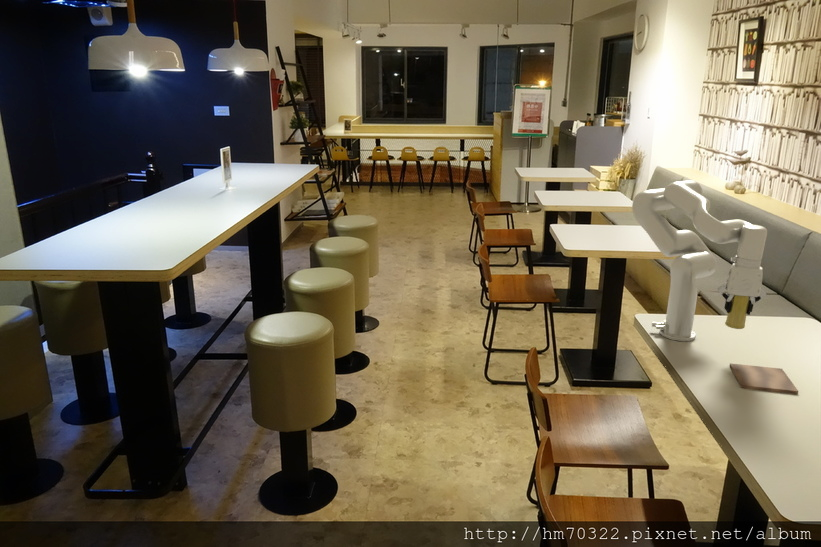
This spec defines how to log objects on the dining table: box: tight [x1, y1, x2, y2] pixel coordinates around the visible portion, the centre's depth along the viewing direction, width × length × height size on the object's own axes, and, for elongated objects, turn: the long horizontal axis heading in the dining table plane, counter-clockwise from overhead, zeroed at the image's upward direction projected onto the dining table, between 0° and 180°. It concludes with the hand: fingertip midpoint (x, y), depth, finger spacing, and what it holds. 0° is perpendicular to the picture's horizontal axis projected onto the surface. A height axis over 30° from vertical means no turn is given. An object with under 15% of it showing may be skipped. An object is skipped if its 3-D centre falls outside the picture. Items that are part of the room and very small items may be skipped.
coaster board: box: [729, 362, 799, 395], centre depth 203 cm, size 16×16×1 cm
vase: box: [724, 295, 750, 330], centre depth 213 cm, size 6×6×14 cm
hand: (737, 312), depth 214 cm, fingers closed on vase, 5 cm apart
